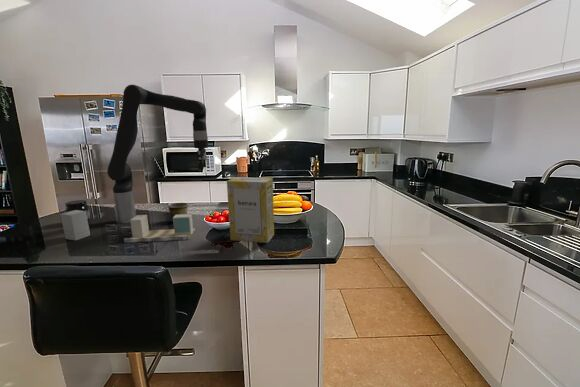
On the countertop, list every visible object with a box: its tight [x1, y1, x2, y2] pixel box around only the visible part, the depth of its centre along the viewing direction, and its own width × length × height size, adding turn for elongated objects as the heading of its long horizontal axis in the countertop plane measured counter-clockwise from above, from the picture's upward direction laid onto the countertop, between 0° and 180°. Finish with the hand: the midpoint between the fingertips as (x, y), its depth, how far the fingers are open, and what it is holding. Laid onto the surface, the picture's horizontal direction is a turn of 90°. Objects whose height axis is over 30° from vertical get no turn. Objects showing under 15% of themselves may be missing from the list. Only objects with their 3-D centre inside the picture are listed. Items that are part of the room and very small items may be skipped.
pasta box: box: [226, 176, 275, 244], centre depth 130 cm, size 18×10×28 cm, turn 77°
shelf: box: [123, 227, 197, 244], centre depth 133 cm, size 28×15×3 cm, turn 96°
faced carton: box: [172, 213, 194, 236], centre depth 134 cm, size 8×5×9 cm, turn 96°
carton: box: [129, 214, 150, 238], centre depth 132 cm, size 8×5×9 cm, turn 6°
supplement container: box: [65, 199, 92, 223], centre depth 157 cm, size 10×10×12 cm
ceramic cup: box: [168, 202, 189, 221], centre depth 156 cm, size 13×10×10 cm
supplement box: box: [59, 210, 91, 241], centre depth 135 cm, size 7×7×13 cm
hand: (202, 168), depth 158 cm, fingers open, 8 cm apart
